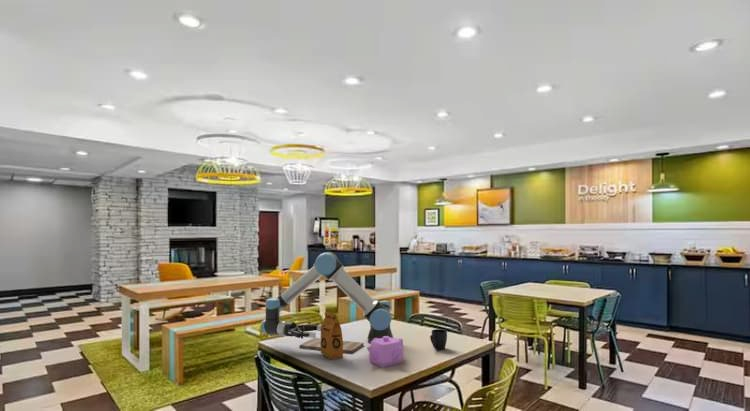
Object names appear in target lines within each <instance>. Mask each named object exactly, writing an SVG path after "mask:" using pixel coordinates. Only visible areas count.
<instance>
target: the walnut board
mask: <svg viewBox="0 0 750 411" xmlns="http://www.w3.org/2000/svg"><path fill="white" fill-rule="evenodd" d="M320 342H321V337H315V338H311V339H309V340H307V341H305V342H303V343H301V344H299V348H300V349H306V350H307V349H308V350H316V351H321V345H320ZM364 344H365V343H364V342H362V341H361V342H360V341H352V340H351V341H349V340H348V341H347V340H343V354H350V355H351V354H353V353H355V352H356V351H358V350H359V349H361V348H362V347H364Z"/></svg>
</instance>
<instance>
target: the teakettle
mask: <svg viewBox="0 0 750 411" xmlns="http://www.w3.org/2000/svg"><path fill="white" fill-rule="evenodd" d="M366 348H367V351H368V353H369V354H368V358H369V362H370V363H371V364H373V365H375V366H378V367H381V368H387V367H391V366H395V365H398V364H401V363H403V360H404V339H403V338H399V337H398V338H394V337H393V338H391V337H389V336H383V338H380V339H378V338H374V339H373V340H372V341H371V343H370V345H369V346H367V347H366Z"/></svg>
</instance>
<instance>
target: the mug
mask: <svg viewBox="0 0 750 411" xmlns="http://www.w3.org/2000/svg"><path fill="white" fill-rule="evenodd" d="M429 339H430V342H431V345H432V347H433V348H434V350H436V351H444V350H445V349H446V346H447V340H448V332H447V330H446V329H440V328H437V329H432V330H431V334H430V336H429Z"/></svg>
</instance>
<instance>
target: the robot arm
mask: <svg viewBox="0 0 750 411" xmlns="http://www.w3.org/2000/svg"><path fill="white" fill-rule="evenodd" d="M344 268H345V266H344V265H343V263H342V262H341V261H340V260H339V258H338V256H337V255H336V253H334V252H332V251H326V252H323V253H320V254H319V255H318V256H317V257H316V259H315V262H314V263H313V266H312V267H311V268H310V269H309V270H308V271H306V272H305V273H304V274H303V275H301V277H299V278H298V279H297V280H296V281H295V282H294V283H292V284H291V285H290V286H288V287H287V289H284V291H283V292H282V293H281V294H280V295H278V296H277V297H271V298H267V299H266V300H265V305H264V306H265V320H263V321H262V322H261V325H260V330H261V333H263V334H264V335H271V336H282V337H283V338H284V337H291V338H292V337H295V338H298V339H304V338H309V339H310V338H311V339H313V338H316V331H317V332H321V325H320V324H319V323H316V324H315V323H314V324H299V325H297V323H296V322H294V321H287V320H285V321H284V320H283V321H282V320H280V319H281V318H280V313H281V312H282V311H283V310H284V309H285V308H286V307H288V306H289V305H290V304H291V303H292V302H294V301H295V299H297V298H298V297H299V296H300V295H302V294H303V293H304V292H306V290H308V289H309V287H311V286H313V284H315V282H317V281H318V280H319V279H321V277H325V279H327V280H328V281H332V282H333V283H334V284H335V285H336V286H338V288H339V289H340V290H341V291H342V292H343V293H344V294H345V295H346V296H347V297H348V298H349V299H350V300H351V301H352V302H353V303H354V304H355V305H356V306H357V307H358V308H359V309H360V310H361V311H362V315H363V317H364V318H365V320H367V321H368V322H369V324H370V325H369V326H370V327H369V328H370V329H369V332H368V336H367V343H369V344H371V341H372V340H373V339H374V338H378V339H380V338H383V336H389V337H391V338H394V335H393V332H392V329H391V323H392V315H391V303H390V302H389V301H387V300H386V301H385V300H384V301H383V300H382V301H381V300H380V301H379V300H377V299H374V298H372V296H370V295H369V294H368V293H367V291H366V290H365V289H363V288H362V287H361V285H360V284H359V283H357V281H356V280H354V278H353V277H351V275H349V273H348V272H347V271H346V270H345V269H344Z"/></svg>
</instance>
